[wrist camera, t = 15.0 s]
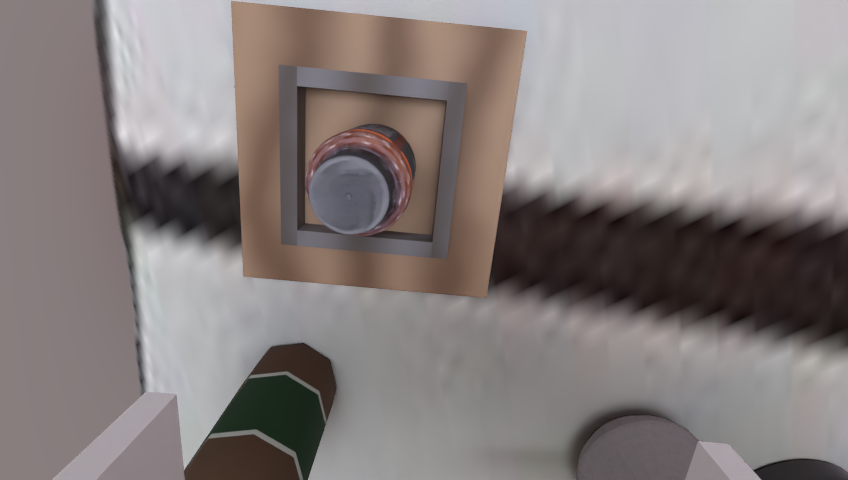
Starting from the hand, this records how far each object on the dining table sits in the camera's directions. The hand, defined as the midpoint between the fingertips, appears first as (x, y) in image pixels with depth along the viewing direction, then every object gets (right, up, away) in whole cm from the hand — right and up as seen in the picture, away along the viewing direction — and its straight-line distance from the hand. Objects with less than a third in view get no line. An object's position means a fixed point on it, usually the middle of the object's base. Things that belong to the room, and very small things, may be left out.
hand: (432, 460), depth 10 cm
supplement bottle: (-4, +11, +20) cm, 23 cm away
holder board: (-4, +12, +21) cm, 24 cm away
